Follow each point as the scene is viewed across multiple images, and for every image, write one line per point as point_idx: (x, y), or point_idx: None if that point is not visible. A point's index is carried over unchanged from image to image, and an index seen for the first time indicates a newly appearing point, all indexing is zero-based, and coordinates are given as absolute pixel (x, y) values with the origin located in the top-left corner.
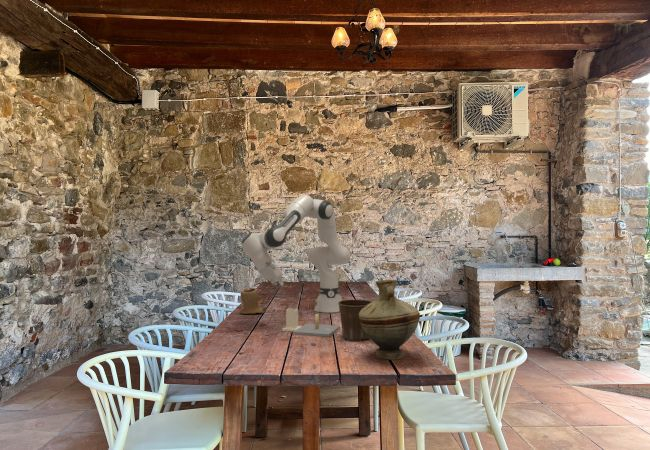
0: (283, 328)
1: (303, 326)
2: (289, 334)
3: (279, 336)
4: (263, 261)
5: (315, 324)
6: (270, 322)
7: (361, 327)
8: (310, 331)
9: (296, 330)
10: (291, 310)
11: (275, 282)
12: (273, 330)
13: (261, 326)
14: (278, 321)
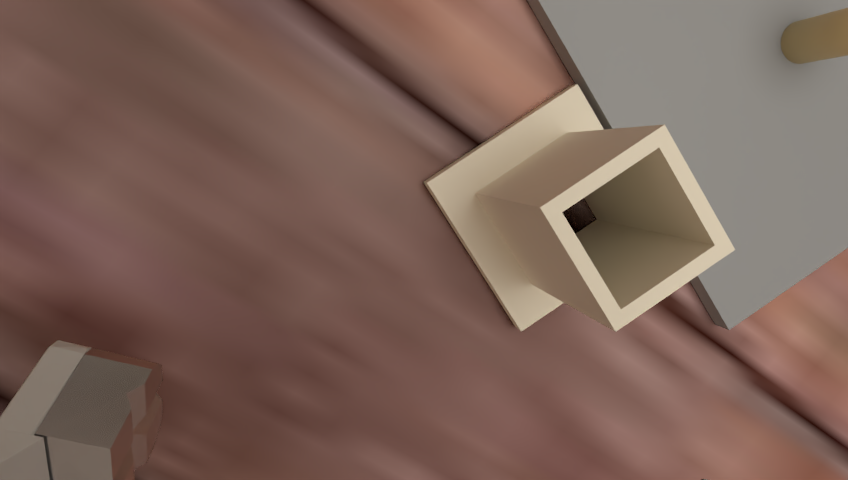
0: (521, 315)
1: (615, 90)
2: (694, 353)
3: (690, 473)
4: None
5: (830, 57)
6: (17, 198)
7: None
8: (842, 179)
9: (710, 267)
10: (688, 278)
11: (120, 452)
12: (436, 394)
13: None
14: (31, 79)
